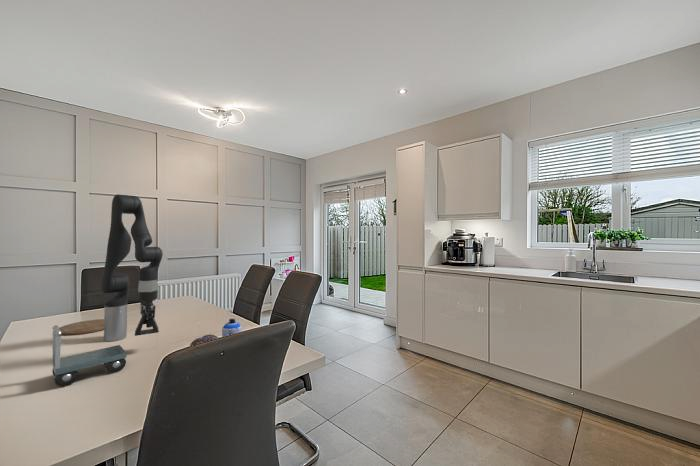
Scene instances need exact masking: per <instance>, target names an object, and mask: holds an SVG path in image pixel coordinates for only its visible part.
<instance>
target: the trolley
mask: <svg viewBox="0 0 700 466" xmlns="http://www.w3.org/2000/svg"><path fill="white" fill-rule="evenodd" d="M59 328H60V327H59V325H55V324H54V325H53V326H52V360H51V361H52V363H51V366H52V370H51V372H52V375H53V377H54V384H55V385H56V386H58V387H61V388H62V387H63V388H64V387H68V386H70V385H73V384H74V383H75V382H76V381H77V379H78V378H79V372H78V370H79V371H80V370H82V369H87V368H90V367H93V366H94V367H95V366H99V365H102V364H103V365H104V366H105V369H106V370H107V371H108V372H109V373H112V374H114V373H118V372H121V371H122V370H124V368H125V367H126V364H127V361H126V359H127V351H125V349H124V348H123V347H122V346H121V344H118V345H113V346H109V347H104V348H100V349H95V350H91V351H90V350H89V351H86V352H81V353H76V354H72V355H67V356H63V357H61V342H62V341H61V338H62V335H61V334H62V333H61V331H60V329H59Z"/></svg>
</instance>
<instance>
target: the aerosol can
mask: <svg viewBox="0 0 700 466" xmlns="http://www.w3.org/2000/svg"><path fill="white" fill-rule="evenodd" d="M242 327H243V326H242V324H240V322H237V321H236V319H235V318H229V320H228V322H226V323H225V324H224V325H223V326H222V329H221V338H222V337H224V336H228V335H231V334H235V333H238V332H242V333H243V328H242Z"/></svg>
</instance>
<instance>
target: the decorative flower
mask: <svg viewBox="0 0 700 466" xmlns="http://www.w3.org/2000/svg"><path fill="white" fill-rule="evenodd" d="M216 338H218V339H219V337H218V336H216V335H214V334H205V335H202V336H201V337H197V338H195V339H194V340H192V341H191V342H190V344H189V346H192V345H196V344H199V343H202V342H206V341H209V340H212V339H216Z"/></svg>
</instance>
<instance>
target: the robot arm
mask: <svg viewBox="0 0 700 466" xmlns="http://www.w3.org/2000/svg"><path fill="white" fill-rule="evenodd" d="M123 214H125V215H126V214H127V215H128V214H129V215H134V218H135V219H134V221H133V223H132V225H131V227H130V232H128V230H127V228H126V227H125V225H124V222H123ZM132 240H133V242H134V258H135V260H136V261H137V262H139V263H149V264H148V265H147V266H143V267H142V268H140V269H139V271H138V272H139V275H138V286H137V288H138V289H137V301H139V303H140V311H139V312H140V314H141V316H142V315H143V313H144V312H145V315H146V317H145V320H144V323H143V325H145V326H146V328H147V329H150V328H153V327H152V321H153V318H154V319H155V317H156V305H154V301H155V300H158V296H159V294H158V289H159V283H158V276H159V275H158V272H159V268H160V265H161V262H162V258H163V250H162V249H161V247H160V246H151V245H152V244H153V238H152V236H151V233H150V231H149V228H148V226H147V222H146V215H145V212H144V207H143V204H142V200H141V199H140V197H139V196H135V195H131V194H130V195H127V194H115V195H114V196H113V198H112V200H111V215H110V228H109V234H108V239H107V247H106V255H105V257H106V258H105V264H104V268H103V271H102V275H101V280H100V290H101V292H102V293H103V294H113V293H116V294H115V295H113V296H112V297H110V298H108V299H106V300H104V316H103V317H104V318H103V319H104V330H103V341H104V342H115V341H120V340H123V339H125V338H127V336H128V335H127V333H128V300H129V289H130V277H129V276H128V274H126V273H116V274H115V272H116V269H117V268H118V266H119V265H120V264H121V263H122V262H123V261H124V260H125V259H126V257H127V256H128V255H129V253H130V252H131V247H132ZM145 308H147V309H145ZM144 309H145V310H144ZM150 314H151V316H150Z"/></svg>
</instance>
